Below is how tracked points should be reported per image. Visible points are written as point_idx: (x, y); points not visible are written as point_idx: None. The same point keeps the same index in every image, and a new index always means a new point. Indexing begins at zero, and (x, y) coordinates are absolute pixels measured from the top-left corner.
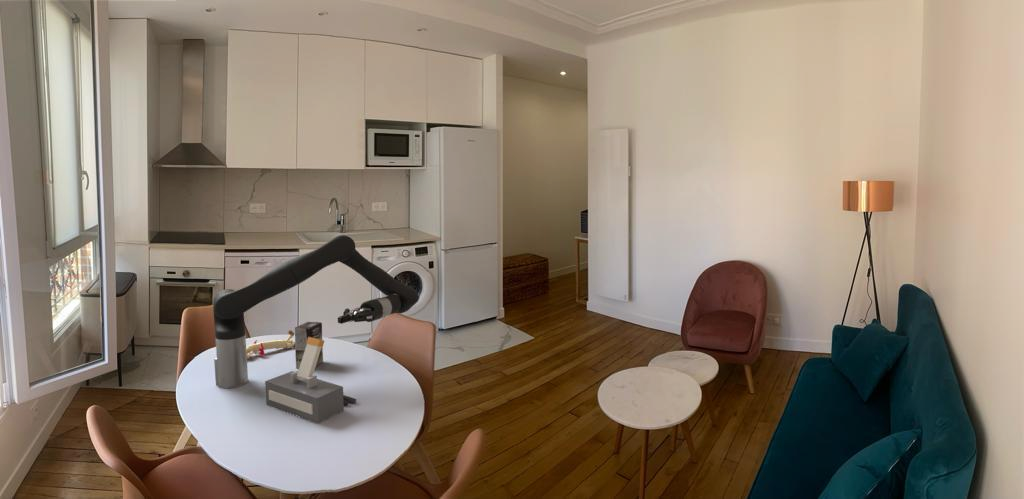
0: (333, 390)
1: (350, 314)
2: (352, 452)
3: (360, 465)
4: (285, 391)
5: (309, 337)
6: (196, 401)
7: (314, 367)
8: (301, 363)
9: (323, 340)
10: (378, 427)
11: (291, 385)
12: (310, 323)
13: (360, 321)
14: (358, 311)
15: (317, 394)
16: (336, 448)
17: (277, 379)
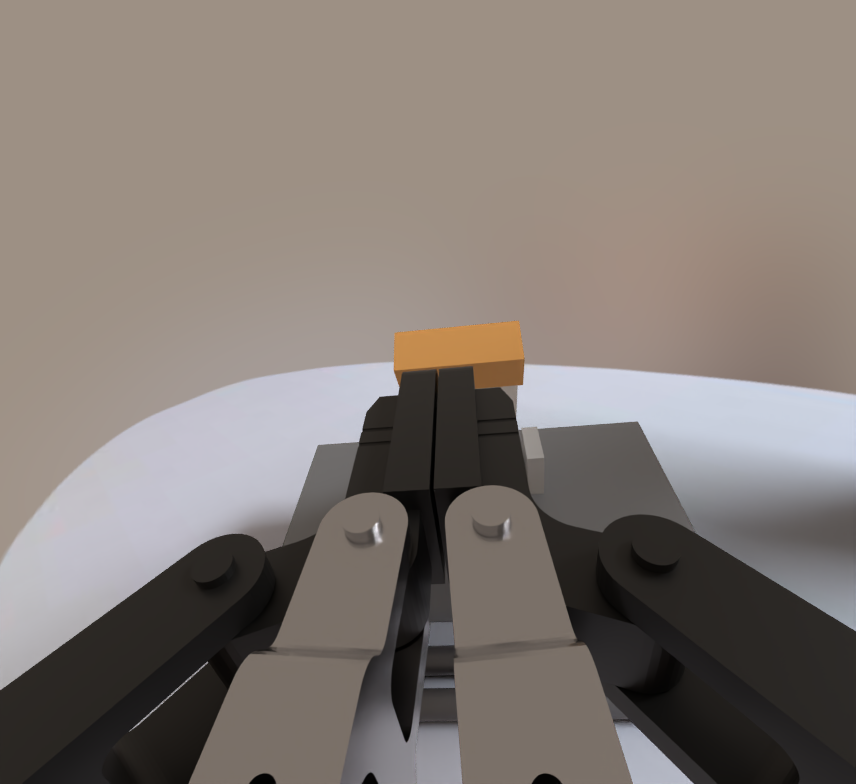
0: (299, 507)
1: (363, 512)
2: (154, 480)
3: (115, 462)
4: None
5: (505, 324)
6: (827, 407)
7: None
8: None
9: (394, 361)
10: (110, 604)
11: None
12: None
13: (170, 722)
14: (209, 765)
15: (337, 459)
16: (205, 471)
17: (619, 449)
